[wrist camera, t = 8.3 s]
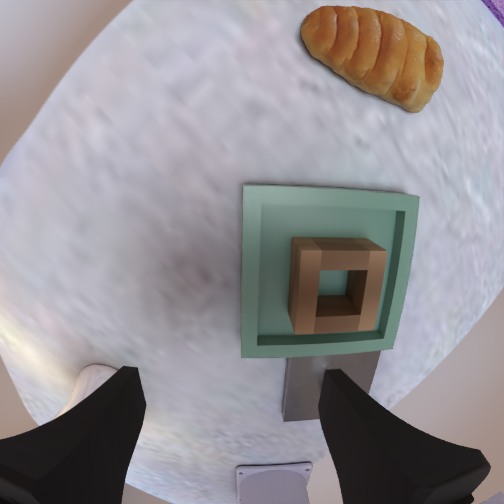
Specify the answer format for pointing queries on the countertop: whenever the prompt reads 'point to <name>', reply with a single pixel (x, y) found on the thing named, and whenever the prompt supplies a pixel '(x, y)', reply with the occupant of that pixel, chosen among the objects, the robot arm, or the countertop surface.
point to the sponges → (496, 9)
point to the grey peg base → (321, 380)
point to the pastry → (376, 53)
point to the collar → (335, 306)
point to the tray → (331, 281)
